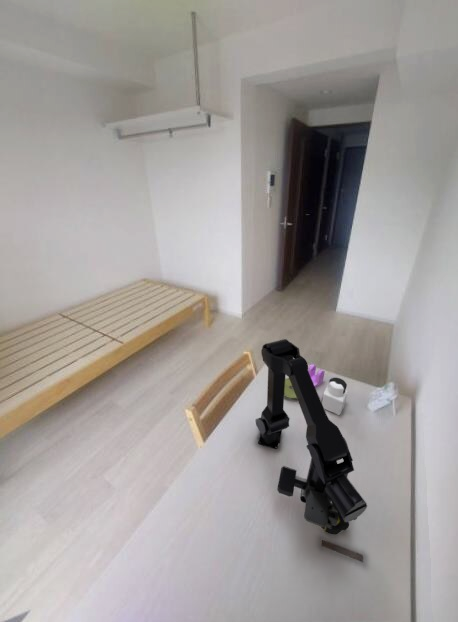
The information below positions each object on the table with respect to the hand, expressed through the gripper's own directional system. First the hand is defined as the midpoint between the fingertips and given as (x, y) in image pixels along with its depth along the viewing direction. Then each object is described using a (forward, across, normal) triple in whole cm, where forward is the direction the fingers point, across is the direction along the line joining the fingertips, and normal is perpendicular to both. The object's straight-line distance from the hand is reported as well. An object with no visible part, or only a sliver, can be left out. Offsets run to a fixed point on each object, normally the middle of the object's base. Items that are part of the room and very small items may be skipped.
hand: (311, 508), depth 71 cm
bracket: (+2, -5, +48) cm, 48 cm away
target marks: (+2, +7, 0) cm, 7 cm away
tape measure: (+2, +5, 0) cm, 5 cm away
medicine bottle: (+2, +5, +40) cm, 40 cm away
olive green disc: (0, -11, +42) cm, 44 cm away
